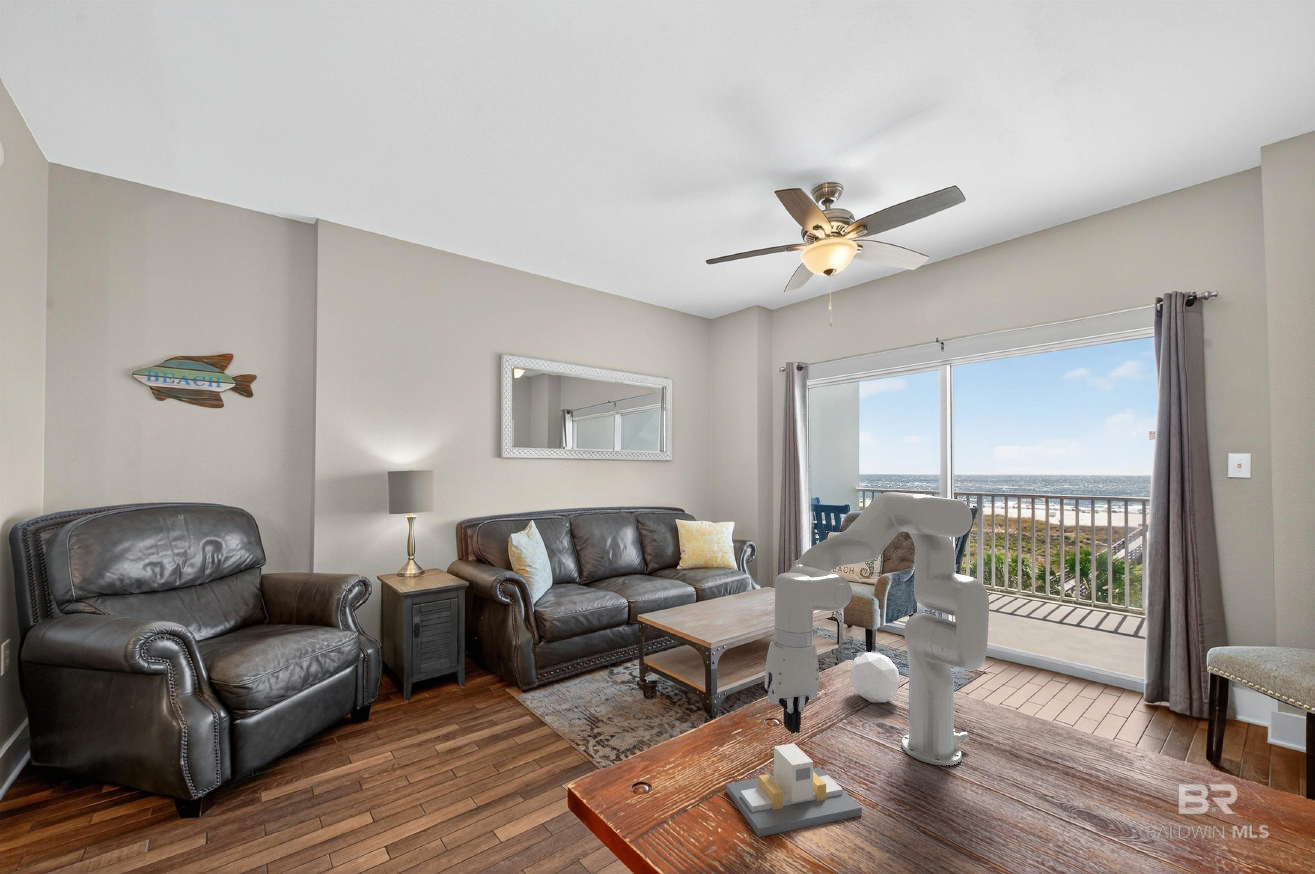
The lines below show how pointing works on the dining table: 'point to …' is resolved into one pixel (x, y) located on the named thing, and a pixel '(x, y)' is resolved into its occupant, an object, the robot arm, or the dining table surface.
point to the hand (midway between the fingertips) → (792, 729)
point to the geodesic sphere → (874, 676)
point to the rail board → (791, 804)
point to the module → (793, 772)
